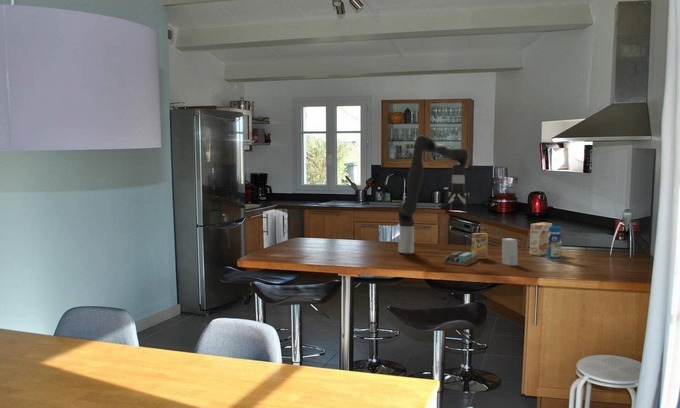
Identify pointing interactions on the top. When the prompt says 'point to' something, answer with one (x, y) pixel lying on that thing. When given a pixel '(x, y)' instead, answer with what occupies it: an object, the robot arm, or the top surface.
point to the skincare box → (509, 251)
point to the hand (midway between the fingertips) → (457, 209)
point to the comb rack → (456, 262)
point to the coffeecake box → (539, 238)
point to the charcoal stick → (454, 255)
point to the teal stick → (464, 256)
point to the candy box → (479, 245)
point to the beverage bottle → (554, 243)
